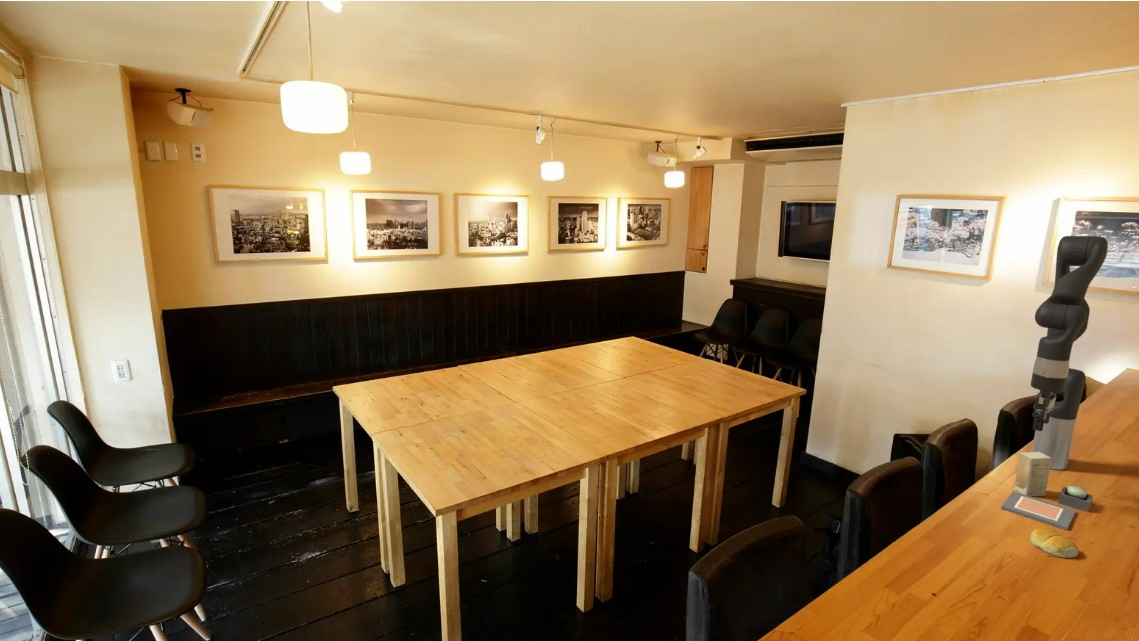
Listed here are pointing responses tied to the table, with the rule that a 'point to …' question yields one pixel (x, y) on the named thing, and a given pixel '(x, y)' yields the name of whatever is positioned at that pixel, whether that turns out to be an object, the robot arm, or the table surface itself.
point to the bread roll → (1053, 543)
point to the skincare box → (1032, 473)
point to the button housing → (1075, 500)
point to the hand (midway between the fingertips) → (1040, 426)
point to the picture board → (1039, 510)
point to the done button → (1077, 491)
